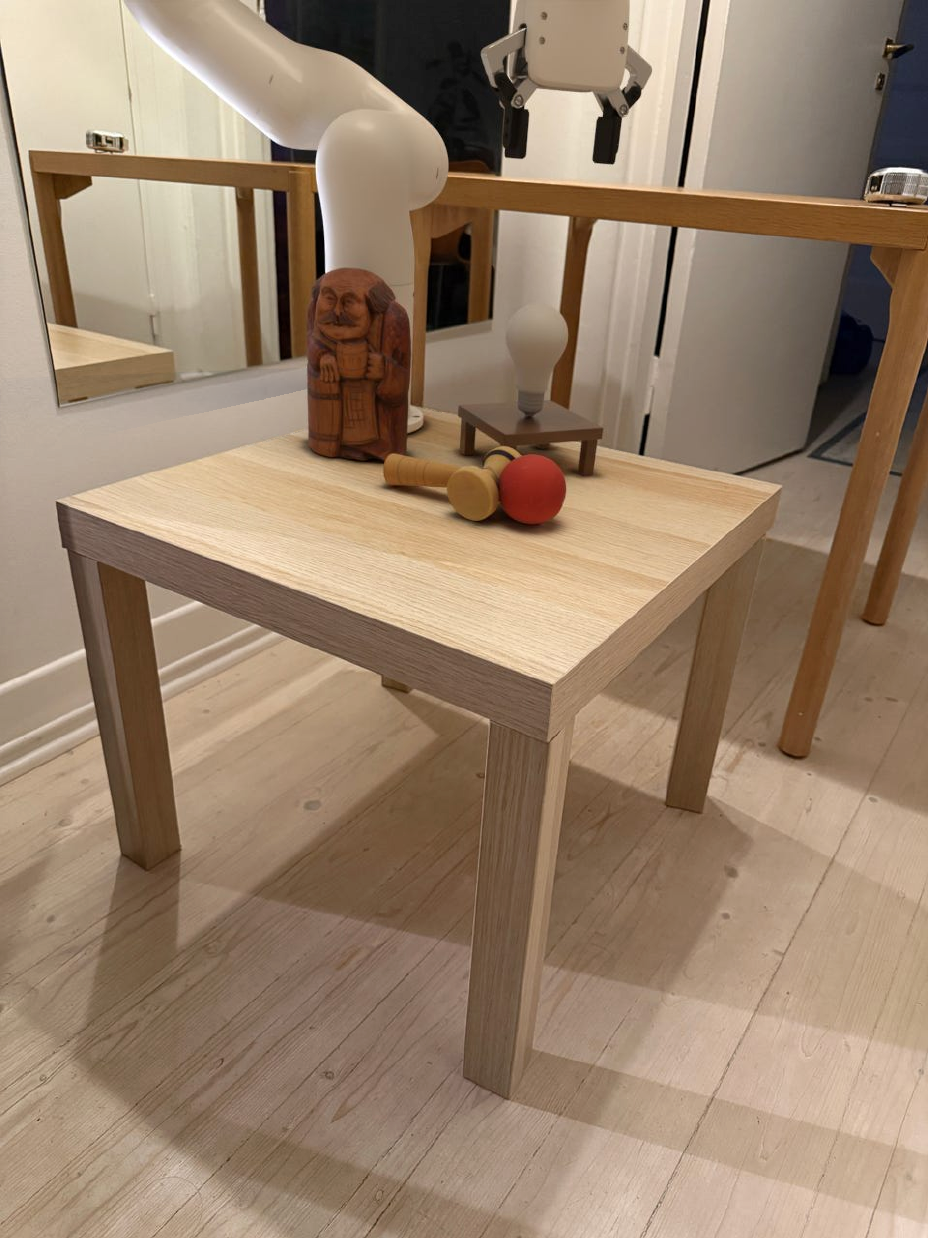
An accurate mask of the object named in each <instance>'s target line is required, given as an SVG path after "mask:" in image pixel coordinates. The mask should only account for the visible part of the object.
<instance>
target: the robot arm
mask: <svg viewBox="0 0 928 1238" xmlns="http://www.w3.org/2000/svg"><path fill="white" fill-rule="evenodd" d="M122 1H123V3H124V5H125V7H126V8H127V10H128V11H129V13H130V14H131V16H132V17H133V18H134V20H135V21H136V23H137V24H138V25H139V26H140V28H142V30H143V31H144V32H145V33H146V34H147V35H148V36H149V37H150V38H151V40H153V41H154V43H155V44H157V46H159V47H160V48H161V49H162V50H163V51H164V52H166V53H167V54H168V55H169V56H170V57H171V58H173V60H175V61H176V62H177V63H179V65H181V66H182V67H184V68H185V69H186V70H188V71H189V72H190V73H191V74H192V75H193V76H195V77H196V78H197V79H198V80H200V81H201V82H202V83H203V84H205V85H206V86H207V87H208V88H209V89H210V90H211V91H213V92H214V94H216V95H217V96H219V97H220V99H222V101H224V102H226V103H227V104H228V105H229V106H230V107H232V108H233V109H234V110H235V111H237V112H238V113H239V114H240V115H241V116H243V117H244V118H245V119H246V120H247V121H249V123H251V124H252V125H253V126H254V127H256V128H257V129H258V130H259V131H260V132H261V133H263V134H264V135H265V136H266V137H267V138H269V139H270V140H272V142H275V144H277V145H279V146H282V147H286V148H288V149H289V148H290V149H292V150H293V149H294V150H302V151H303V150H304V151H316V154H315V155H316V157H315V179H316V186H317V192H318V199H319V203H320V204H319V205H320V210H321V217H322V225H323V237H324V238H323V239H324V270H325V271H324V272H325V273H327V272H330V271H332V270H335V269H338V268H359V269H364V270H367V271H370V272H372V273H374V274H376V275H378V276H379V277H380V278H381V279H382V280H384V282H385V283H386V284H387V285H388V286H389V287H390V289H391V290H392V291H393V293H394V295H395V297H396V299H395V301H396V302H398V303H399V304H400V305H401V306H402V307H403V308H404V309H405V310H406V312H407V314H408V318H409V323H410V337H411V368H410V384H409V391H408V427H407V434H410V433H412V432H416V431H417V430H420V428H422V427H423V425H424V413H423V412H422V411H421V410H420V409H418V407H415V406H413V405H411V400H412V396H411V395H412V369H413V339H414V338H413V336H414V305H415V268H416V267H415V265H416V264H415V263H416V262H415V260H416V259H415V243H414V237H413V236H414V235H413V230H412V222H411V216H410V211H416V210H418V209H419V210H420V209H421V208H424V207H426V206H428V205H430V204H431V203H432V202H433V201H435V200H436V199H437V197H439V195H440V194H441V193H442V191H443V190H444V188H445V185H446V183H447V179H448V175H449V157H448V152H447V148H446V145H445V142H444V141H443V138H442V137H441V135H440V134H439V133H440V132H438V130H437V129H436V128H435V127H434V125H433V124H431V122H430V121H429V120H427V119H426V118H425V116H423V115H421V114H420V113H419V112H418V111H417V110H415V109H414V108H413V107H412V106H410V105H409V104H408V103H406V102H405V101H404V100H403V99H402V98H400V97H399V96H398V95H396V93H394V92H393V91H392V90H391V89H390V88H388V87H387V86H386V85H384V84H383V83H381V81H379V80H378V79H377V78H375V77H374V76H373V75H372V74H371V73H369V72H368V71H367V70H365V68H363V67H362V66H360V65H359V64H357V63H355V62H354V61H352V60H351V59H349V58H347V57H345V56H343V55H341V54H338V53H335V52H333V51H328V50H325V49H320V48H316V47H313V46H309V45H306V44H302V43H299V42H296V41H294V40H292V39H291V38H288V37H287V36H286V35H284V34H283V33H281V32H280V31H279V30H277V29H276V28H274V27H273V26H272V25H271V24H269V23H268V22H267V21H265V20H264V19H263V18H262V17H260V16H259V15H258V14H257V13H256V12H255V11H254V10H253V9H251V8H250V7H249V6H248V5H246V3H244V2H242V1H241V0H122ZM630 2H631V1H630V0H516V4H515V11H514V17H513V25H512V29H511V30H512V31H511V33H508V34H507V35H504V37H501V38H499V39H498V40H496V41H494V42H492V43H490V44H488V45H487V46H485V47H483V48H482V49H481V51H480V57H481V61H482V64H483V66H484V67H483V68H484V70H485V73H486V75H487V77H488V79H487V81H488V85H489V87H490V88H491V89H492V91H493V93H494V94H495V96H496V97H497V99H498V100H499V106H500V107H501V108H502V109H503V110H504V113H503V124H502V138H501V140H502V141H501V142H502V143H501V144H502V147H503V148H504V150H503V151H504V152H503V153H504V158H506V159H515V160H523V159H525V158H526V157H527V151H528V150H527V148H528V138H529V125H530V124H529V123H530V111H529V109H528V108H525V107H526V103H527V102H528V101H529V99H530V98H531V97H532V95H533V94H534V93H535V91H536V90H537V89H538V90H539V89H540V90H548V91H559V92H570V93H592V94H593V96H594V98H595V100H596V102H597V104H598V106H599V109H600V111H601V112H602V116H597V118H596V122H595V131H594V139H593V140H594V141H593V149H592V157H591V160H592V162H593V163H594V164H600V165H610V166H611V165H614V164H615V163H616V159H617V154H618V152H619V148H620V140H621V139H620V138H621V131H622V124H623V123H622V122H623V118H626V117H627V116H628V115H629V112H630V110H631V108H632V107H633V106H634V105H635V104H637V102H638V101H639V100H640V99H641V97H642V92H643V90H644V88H645V87H646V85H647V83H648V81H649V79H650V77H651V75H652V73H653V68H652V66H651V64H650V63H648V62H647V61H646V60H645V59H644V58H643V57H642V56H641V55H640V54H639V53H638V52H637V51H636V50H634V49H633V48H632V47H631V45H629V32H630V31H629V30H630V10H631V9H630V4H631V3H630ZM507 56H509V57H508V74H507V73H506V71H505V66H504V59H505V58H506V57H507ZM625 71H628V72H629V78H628V80H627V83H626V86H624V87H622V89H621V86H622V83H623V80H624V76H625ZM325 273H324V274H325Z"/></svg>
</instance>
